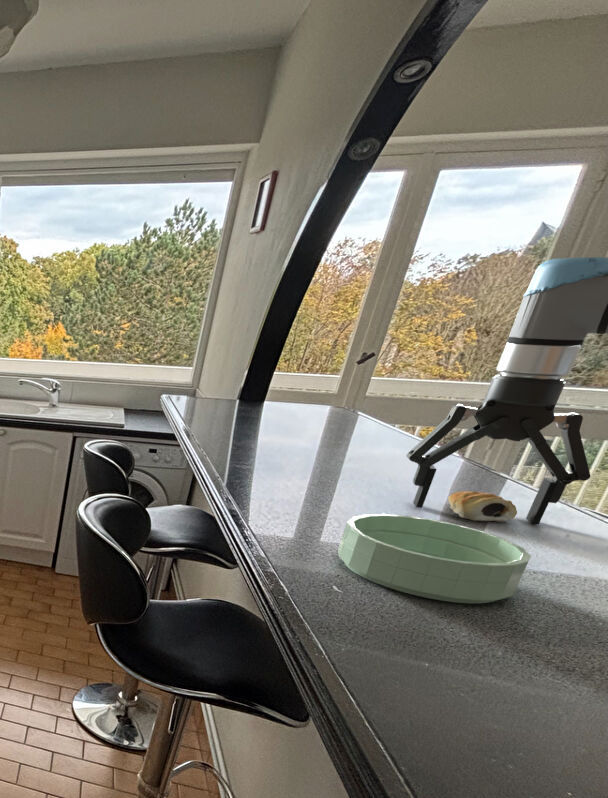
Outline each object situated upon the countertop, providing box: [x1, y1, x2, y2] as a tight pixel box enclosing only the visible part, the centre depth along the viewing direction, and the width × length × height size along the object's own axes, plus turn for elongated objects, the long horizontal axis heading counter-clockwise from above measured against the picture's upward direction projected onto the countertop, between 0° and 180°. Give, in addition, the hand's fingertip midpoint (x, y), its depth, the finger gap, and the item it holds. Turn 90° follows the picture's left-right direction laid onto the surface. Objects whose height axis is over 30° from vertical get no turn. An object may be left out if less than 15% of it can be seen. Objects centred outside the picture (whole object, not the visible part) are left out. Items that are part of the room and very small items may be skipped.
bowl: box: [337, 513, 532, 604], centre depth 71 cm, size 16×16×5 cm
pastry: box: [447, 490, 518, 522], centre depth 93 cm, size 9×7×4 cm
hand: (472, 513), depth 93 cm, fingers open, 13 cm apart
